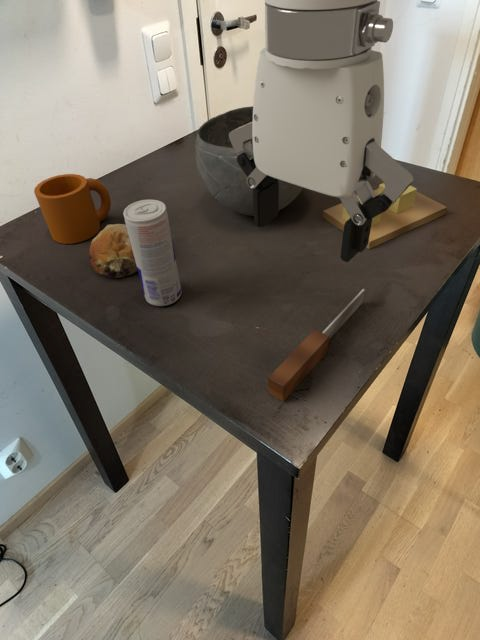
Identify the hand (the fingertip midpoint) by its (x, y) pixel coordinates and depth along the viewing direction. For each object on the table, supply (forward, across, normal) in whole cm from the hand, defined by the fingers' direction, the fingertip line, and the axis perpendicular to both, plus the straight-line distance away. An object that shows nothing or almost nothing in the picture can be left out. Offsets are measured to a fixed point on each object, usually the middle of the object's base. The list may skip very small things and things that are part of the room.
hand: (307, 236), depth 44 cm
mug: (+20, +51, -5) cm, 55 cm away
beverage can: (+20, +25, 0) cm, 32 cm away
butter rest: (+19, +8, -41) cm, 46 cm away
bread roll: (+20, +37, -2) cm, 42 cm away
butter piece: (+19, +10, -33) cm, 39 cm away
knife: (+20, 0, -6) cm, 21 cm away
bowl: (+20, +30, -29) cm, 46 cm away
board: (+20, +8, -39) cm, 45 cm away
